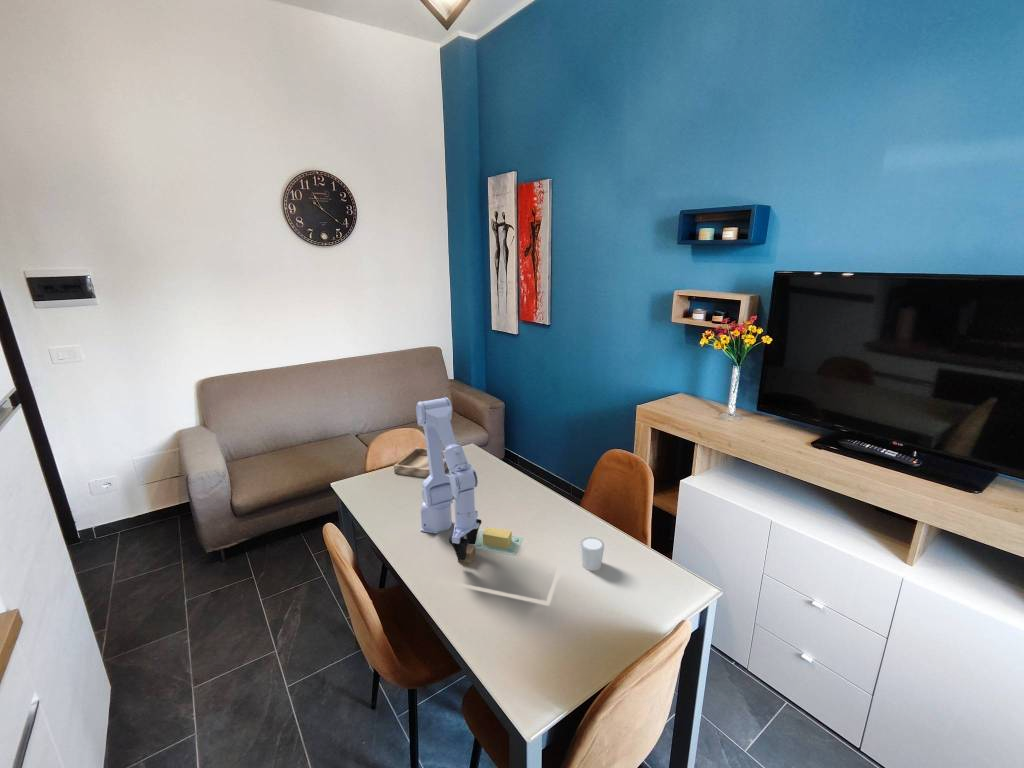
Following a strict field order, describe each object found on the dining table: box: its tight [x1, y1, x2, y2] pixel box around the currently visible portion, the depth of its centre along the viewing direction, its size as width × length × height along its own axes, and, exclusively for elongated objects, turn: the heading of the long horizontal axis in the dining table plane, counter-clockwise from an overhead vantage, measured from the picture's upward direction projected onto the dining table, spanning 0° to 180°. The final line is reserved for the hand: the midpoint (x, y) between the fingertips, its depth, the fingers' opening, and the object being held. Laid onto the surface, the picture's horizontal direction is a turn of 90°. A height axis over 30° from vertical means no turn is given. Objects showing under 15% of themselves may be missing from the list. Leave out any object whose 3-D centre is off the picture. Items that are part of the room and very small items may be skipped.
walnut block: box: [457, 544, 477, 565], centre depth 138 cm, size 4×4×4 cm
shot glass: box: [579, 536, 605, 572], centre depth 135 cm, size 7×7×7 cm
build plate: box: [474, 530, 524, 556], centre depth 145 cm, size 14×9×1 cm, turn 73°
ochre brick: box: [483, 526, 513, 549], centre depth 145 cm, size 8×4×4 cm, turn 73°
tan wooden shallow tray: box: [393, 447, 448, 479], centre depth 199 cm, size 19×19×4 cm
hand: (466, 551), depth 137 cm, fingers open, 7 cm apart
